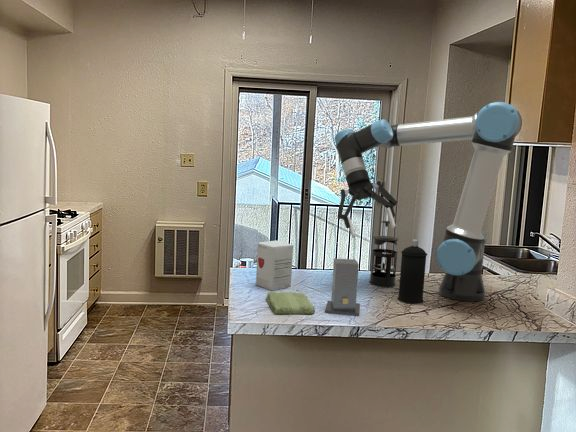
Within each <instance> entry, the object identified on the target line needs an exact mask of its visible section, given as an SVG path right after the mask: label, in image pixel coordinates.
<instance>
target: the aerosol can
mask: <svg viewBox="0 0 576 432" xmlns="http://www.w3.org/2000/svg"><path fill="white" fill-rule="evenodd" d="M400 253H401V261H400V275H399V285H398V287H399V288H398V297H397V300H398V301H399V302H401V303H405V304H412V305H413V304H414V305H417V304H418V305H419V304H422V303H423V302H424V299H423V297H424V286H425V275H426V264H427V263H426V262H427V256H428V253H427V252H426V251H425V249H424V248H423V247H422V248H421V247H420V246H419V240H418V239H412V241H411V245H410V246H407V247H405V248H404V249H403V250H401V251H400Z"/></svg>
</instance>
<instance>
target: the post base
mask: <svg viewBox="0 0 576 432" xmlns="http://www.w3.org/2000/svg"><path fill="white" fill-rule="evenodd" d="M326 302H327V303H326V305H325V309H324V313H325V314H335V315H343V316H345V315H346V316H353V317H354V316H355V317H359V316H360V309H361V303H357V302H356V310H355V311H353V310H333V307H332V304H331V300H327V301H326Z"/></svg>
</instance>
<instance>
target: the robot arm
mask: <svg viewBox="0 0 576 432" xmlns="http://www.w3.org/2000/svg"><path fill="white" fill-rule="evenodd" d="M522 127H523V119H522V115H521V113H520V112H519V110H517V109H516V107H514V106H513V105H512V104H510V103H508V102H505V101H495V102H491V103H488V104H486V105H485V106H483V107H482V108H481V109H480V110H479V111H478V112H476V113H475V114H474V115H471V116H461V117H454V118H453V117H452V118H445V119H437V120H436V119H435V120H428V121H427V120H426V121H420V122H419V121H418V122H417V121H416V122H410V123H409V122H408V123H401V124H393V125H391V124H390V123H389V122H388V120H386V119H383V118H382V119H379V120H378V121H373V123H371V124H369V125H368V126H365V127H363V128H361V129H359V130H357V131H355V130H354V129H352V128H345V129H342V130H340V131H338V132H337V133H336V134H335V136H334V143H335V146H336V147H335V148H336V151H337V153H338V157H339V159H340V160H339V161H340V163H341V166H342V171H343V173H344V176H345V180H346V184H347V187H348V189H344V188H341V191H340V202H339V208H338V211H337V219H338V220H343V222H344V225H345V228H346V229H349V232H350V234H351V238H352V239H355V237H356V232H355V229H354V227H353V222H352V220H351V219H352V218H351V216H349V214H350V213H351V211H352V208H353V206H354V204H355V203H356V201H357V200H358V201H361V200H367V199H369V198H370V199H372V200H374V201H376V202H377V203H378V204H380V205H382V206H383V207H385V208H386V210H385V212H386V215H387V217H388V221H390V223H389V225H390V227H391V229H395V228H396V225H397V224H396V223H395V219H394V218H395V217H396V213H395V210H394V208H395V207H396V205H398V201H397V200H396V199H395V197H393V196H392V194H390V193H389V192H388V190H387V189H386V188H385V187H384V186H383V185H382V182H381V180H377V181H376V182H375V183H372V182H371V179H370V176H369V173H368V170H367V167H366V163H365V160H364V156H363V153H366V152H368V151H370V150H372V149H374V148H387V149H389V148H393V147H404V146H415V145H423V144H424V145H425V144H435V143H445V142H457V141H468V140H471V144H472V146H473V148H474V152H473V155H472V159H471V161H470V165H469V169H468V172H467V175H466V177H465V181H464V186H463V188H462V192H461V196H460V199H459V202H458V206H457V209H456V212H455V216H454V218H453V223H451V224H450V225H448V226H446V228H445V233H444V236H443V238H442V242H441V243H440V245H439V246H438V248H437V250H436V262H437V264H438V266H439V268H441V269H442V270H443V271H444V272H445V273H444V275H443V278H442V279H441V282H440V285H439V287H438V294H439V295H441V296H442V297H445V298H448V299H451V300H456V301H463V302H481V301H483V300H485V298H486V289H485V285H484V280H483V277H482V275H483V265H484V255H485V246H486V241H487V239H486V233H485V232H484V231H482V228H483V224H484V222H485V219H486V216H487V212H488V209H489V205H490V203H491V199H492V195H493V193H494V189H495V186H496V183H497V179H498V175H499V173H500V170H501V167H502V163H503V161H504V157H505V156H506V155H507V154H510V153H512V149H513V146H514V142H515V139H516V137H517V136H518V135H519V134H520V132H521V130H522ZM373 189H375V190H377V191H378V193H380V194H381V195H382V196H383V197H384V198H383V197H382V196H381V195H380V194H377V192H375V191H374V190H373ZM348 194H349V195H351V196H352V198H351V199H350V202H349V203H348V206H347V208H346V210H345V212H344V214H343V211H344V206H345V201H346V197H348Z"/></svg>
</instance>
